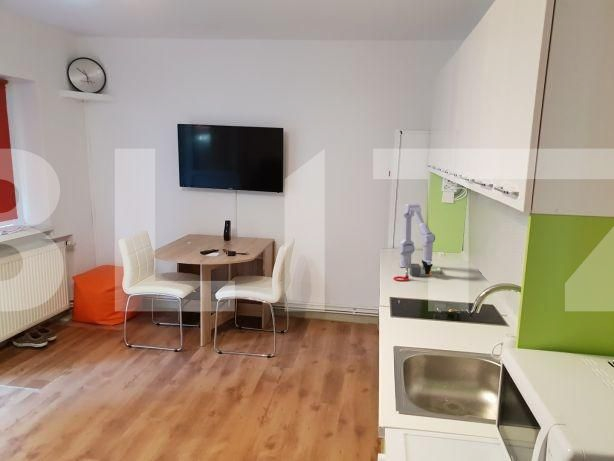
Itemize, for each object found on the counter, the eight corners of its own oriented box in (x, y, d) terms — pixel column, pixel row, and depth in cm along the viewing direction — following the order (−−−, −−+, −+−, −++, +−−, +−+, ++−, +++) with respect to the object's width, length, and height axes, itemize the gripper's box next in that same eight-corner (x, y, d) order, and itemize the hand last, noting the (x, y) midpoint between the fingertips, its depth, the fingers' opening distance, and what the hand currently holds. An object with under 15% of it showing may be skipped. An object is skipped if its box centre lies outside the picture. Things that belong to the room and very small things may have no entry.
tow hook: (394, 282, 264) (409, 281, 264) (394, 261, 262) (409, 261, 262) (392, 278, 273) (407, 277, 272) (392, 258, 271) (407, 257, 270)
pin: (409, 273, 281) (409, 266, 280) (429, 274, 280) (430, 267, 279) (410, 275, 277) (410, 268, 276) (430, 276, 276) (431, 269, 275)
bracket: (410, 272, 283) (410, 263, 282) (418, 272, 283) (418, 263, 282) (412, 276, 274) (412, 267, 273) (420, 276, 274) (420, 267, 273)
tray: (411, 269, 292) (411, 266, 292) (438, 269, 291) (438, 266, 290) (413, 272, 283) (413, 270, 282) (441, 273, 281) (441, 270, 281)
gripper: (419, 249, 283) (418, 269, 285) (423, 254, 269) (422, 275, 271) (430, 249, 282) (429, 270, 285) (434, 255, 268) (433, 276, 270)
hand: (426, 273), depth 278 cm, fingers closed on pin, 4 cm apart
